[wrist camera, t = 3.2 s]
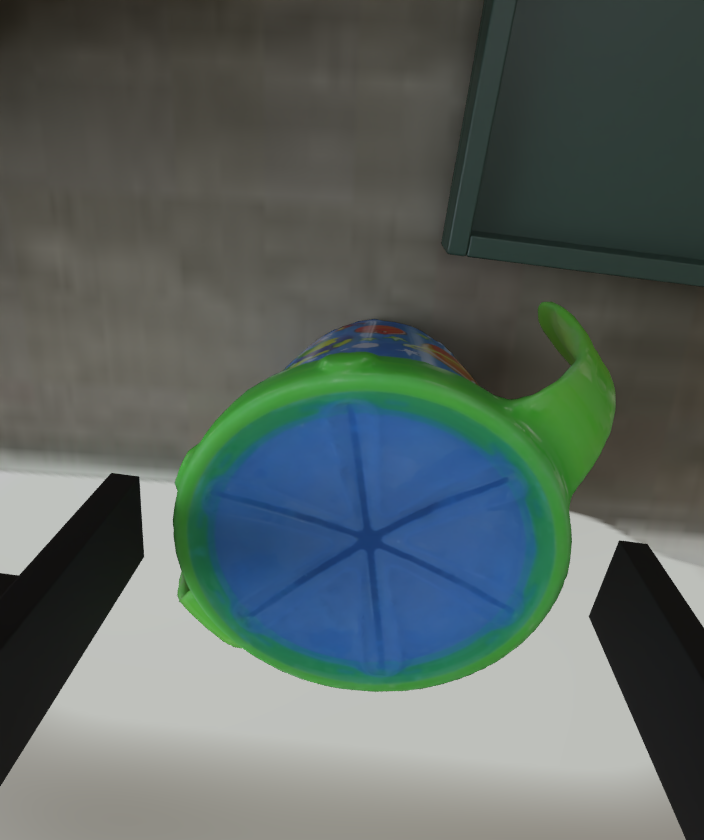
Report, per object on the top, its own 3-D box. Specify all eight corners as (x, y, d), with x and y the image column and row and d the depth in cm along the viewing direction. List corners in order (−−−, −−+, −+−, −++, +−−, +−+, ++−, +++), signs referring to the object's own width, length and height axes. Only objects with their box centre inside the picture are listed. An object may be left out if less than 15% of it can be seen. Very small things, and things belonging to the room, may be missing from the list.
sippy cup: (289, 555, 27) (239, 757, 18) (158, 383, 24) (14, 526, 15) (598, 423, 23) (732, 596, 14) (497, 188, 20) (592, 219, 10)
